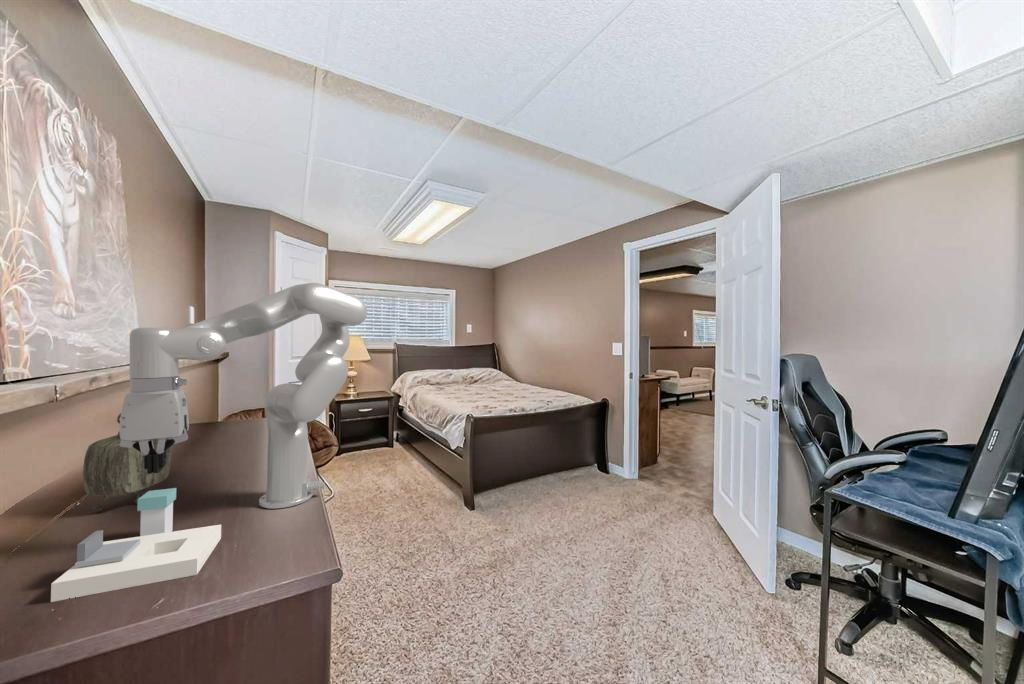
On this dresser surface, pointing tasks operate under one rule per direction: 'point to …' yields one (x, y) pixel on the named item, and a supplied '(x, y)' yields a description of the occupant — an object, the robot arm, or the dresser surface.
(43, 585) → the dresser surface
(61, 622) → the dresser surface
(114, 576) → the socket
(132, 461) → the tabletop clock
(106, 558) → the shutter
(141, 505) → the plug
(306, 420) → the robot arm
